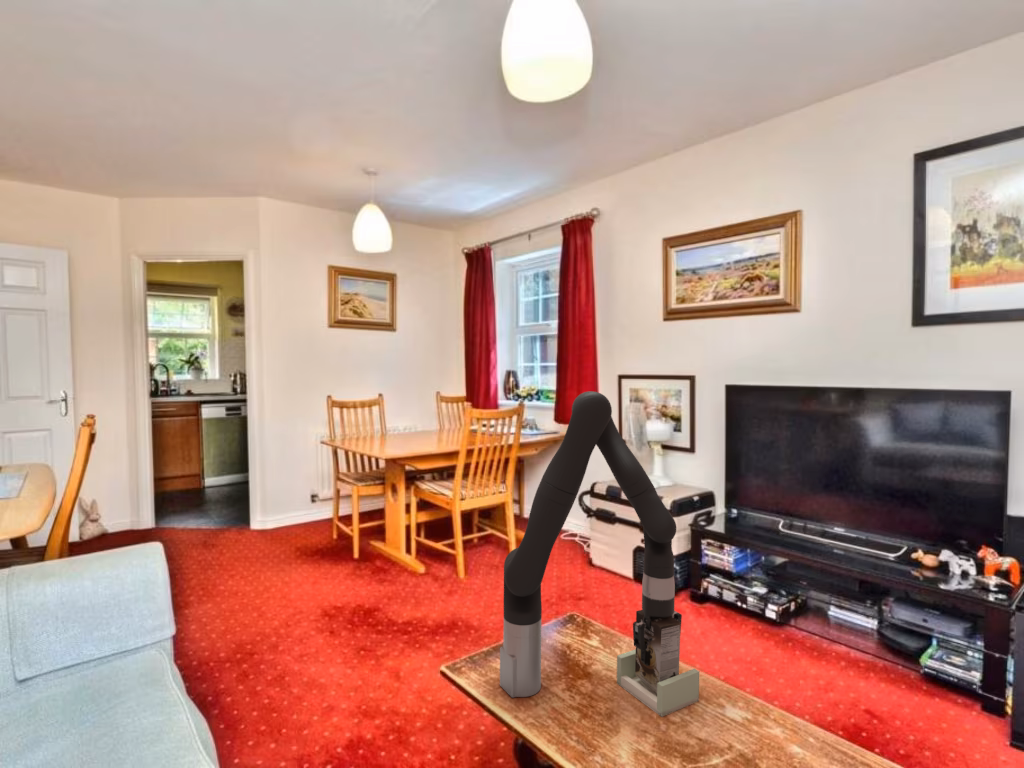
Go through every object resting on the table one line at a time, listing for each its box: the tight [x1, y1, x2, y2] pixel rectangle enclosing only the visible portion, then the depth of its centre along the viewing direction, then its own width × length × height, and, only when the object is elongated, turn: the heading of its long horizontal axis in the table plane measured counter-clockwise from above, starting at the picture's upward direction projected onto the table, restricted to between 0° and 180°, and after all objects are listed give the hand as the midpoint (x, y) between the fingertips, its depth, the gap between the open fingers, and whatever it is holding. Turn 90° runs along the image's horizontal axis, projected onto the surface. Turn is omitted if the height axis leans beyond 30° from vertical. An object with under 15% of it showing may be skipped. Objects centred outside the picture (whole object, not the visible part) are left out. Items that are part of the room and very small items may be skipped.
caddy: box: [616, 648, 700, 718], centre depth 133 cm, size 12×15×7 cm
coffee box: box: [635, 609, 682, 693], centre depth 133 cm, size 9×6×16 cm
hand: (657, 660), depth 133 cm, fingers closed on coffee box, 6 cm apart
